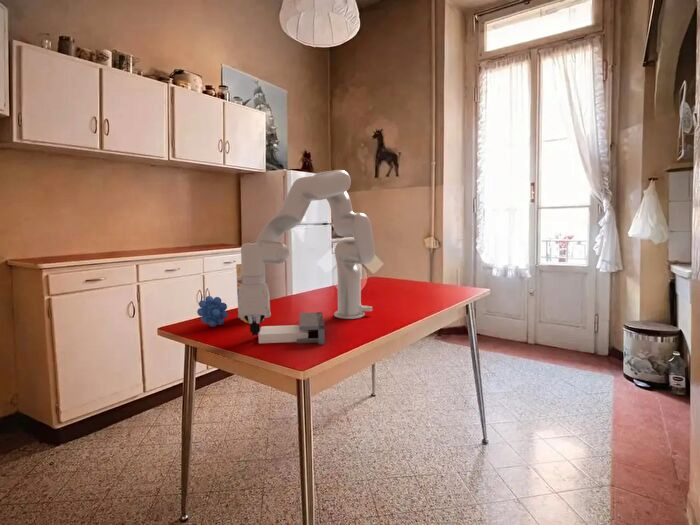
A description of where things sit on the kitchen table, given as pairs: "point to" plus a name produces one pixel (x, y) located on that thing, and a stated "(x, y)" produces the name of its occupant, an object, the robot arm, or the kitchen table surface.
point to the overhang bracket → (312, 327)
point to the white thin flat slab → (281, 334)
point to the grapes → (212, 311)
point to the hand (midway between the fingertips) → (255, 334)
